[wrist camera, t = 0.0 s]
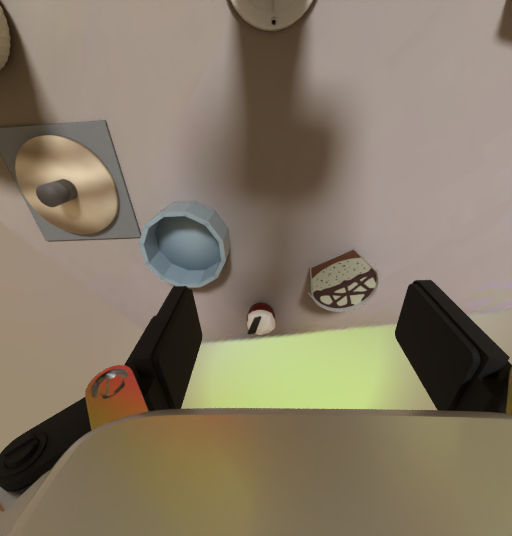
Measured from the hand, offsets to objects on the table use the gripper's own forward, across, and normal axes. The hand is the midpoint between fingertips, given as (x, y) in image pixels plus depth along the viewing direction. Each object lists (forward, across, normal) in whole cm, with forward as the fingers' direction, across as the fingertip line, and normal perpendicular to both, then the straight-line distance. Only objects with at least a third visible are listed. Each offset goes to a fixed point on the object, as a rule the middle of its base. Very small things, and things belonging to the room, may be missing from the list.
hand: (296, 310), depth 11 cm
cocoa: (+37, +4, +30) cm, 48 cm away
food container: (+37, -12, +20) cm, 44 cm away
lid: (+36, +37, +1) cm, 52 cm away
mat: (+37, +37, +1) cm, 52 cm away
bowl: (+37, +17, +12) cm, 42 cm away
